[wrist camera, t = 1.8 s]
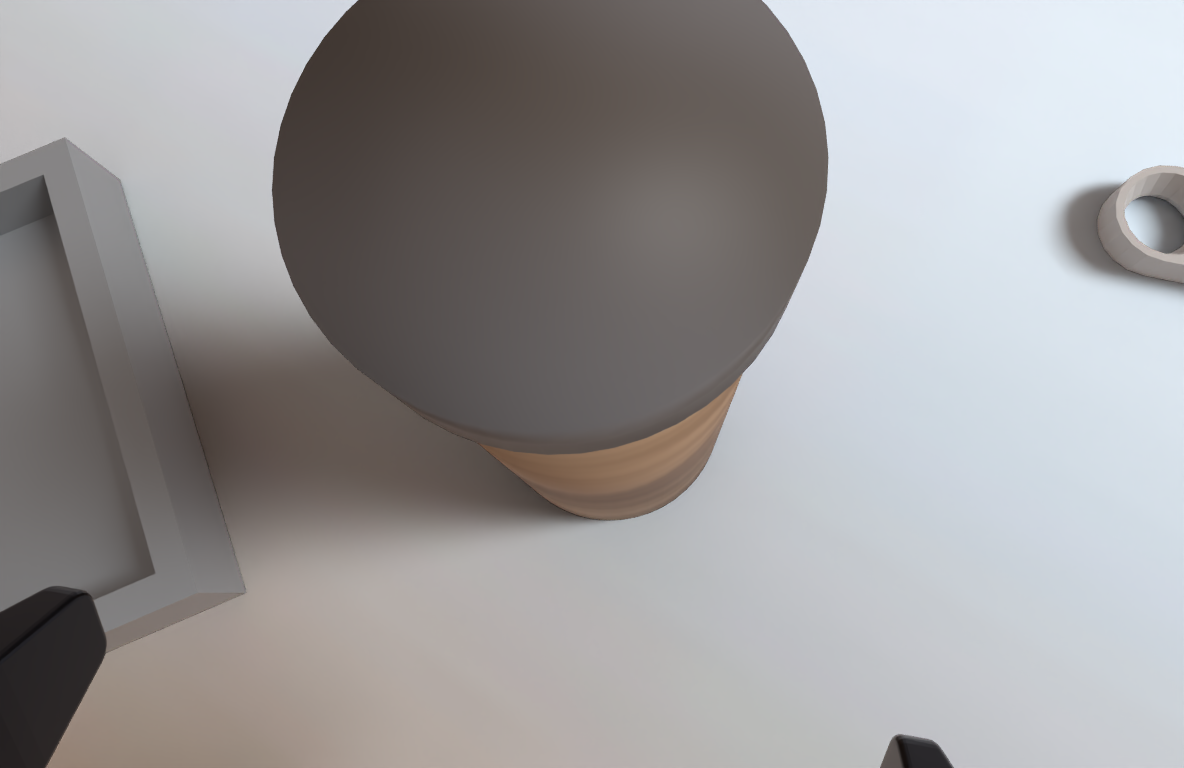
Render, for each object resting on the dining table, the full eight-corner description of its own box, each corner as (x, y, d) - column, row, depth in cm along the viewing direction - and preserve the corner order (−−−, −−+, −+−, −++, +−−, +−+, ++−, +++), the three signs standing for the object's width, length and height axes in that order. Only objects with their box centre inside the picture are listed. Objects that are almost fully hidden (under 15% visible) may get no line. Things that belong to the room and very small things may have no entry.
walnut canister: (691, 558, 21) (744, 507, 8) (464, 488, 22) (188, 342, 9) (753, 334, 23) (885, -20, 10) (536, 276, 23) (382, -124, 10)
